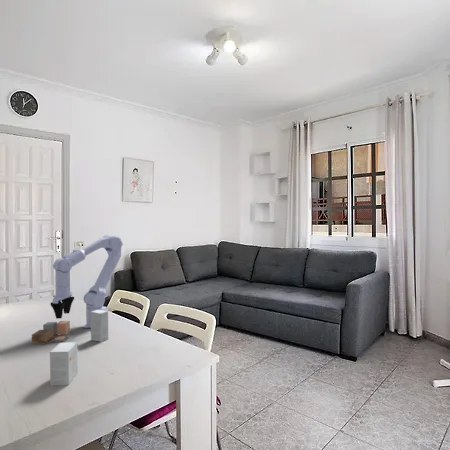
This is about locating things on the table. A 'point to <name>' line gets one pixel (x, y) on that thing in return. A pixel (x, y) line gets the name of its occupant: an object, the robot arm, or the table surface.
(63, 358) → the small box
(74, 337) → the table surface
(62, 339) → the tile
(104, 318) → the skincare box
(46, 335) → the walnut block
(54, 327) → the slate block
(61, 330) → the terracotta block
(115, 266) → the robot arm
